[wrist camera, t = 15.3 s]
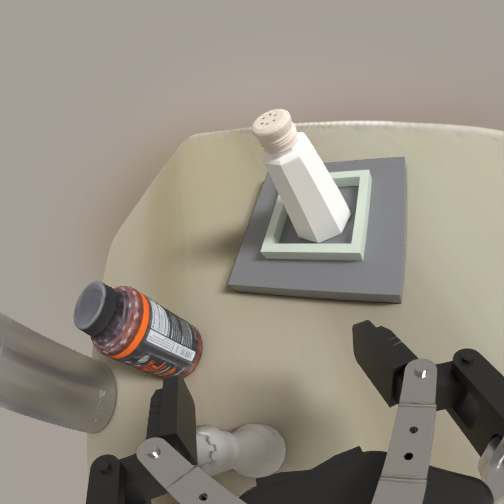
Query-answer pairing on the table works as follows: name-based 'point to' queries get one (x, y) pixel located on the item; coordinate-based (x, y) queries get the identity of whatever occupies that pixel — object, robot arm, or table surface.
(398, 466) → the robot arm
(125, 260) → the table surface
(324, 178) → the pepper shaker
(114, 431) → the table surface
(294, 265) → the baseplate
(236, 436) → the rook chess piece
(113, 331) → the supplement bottle
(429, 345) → the table surface
